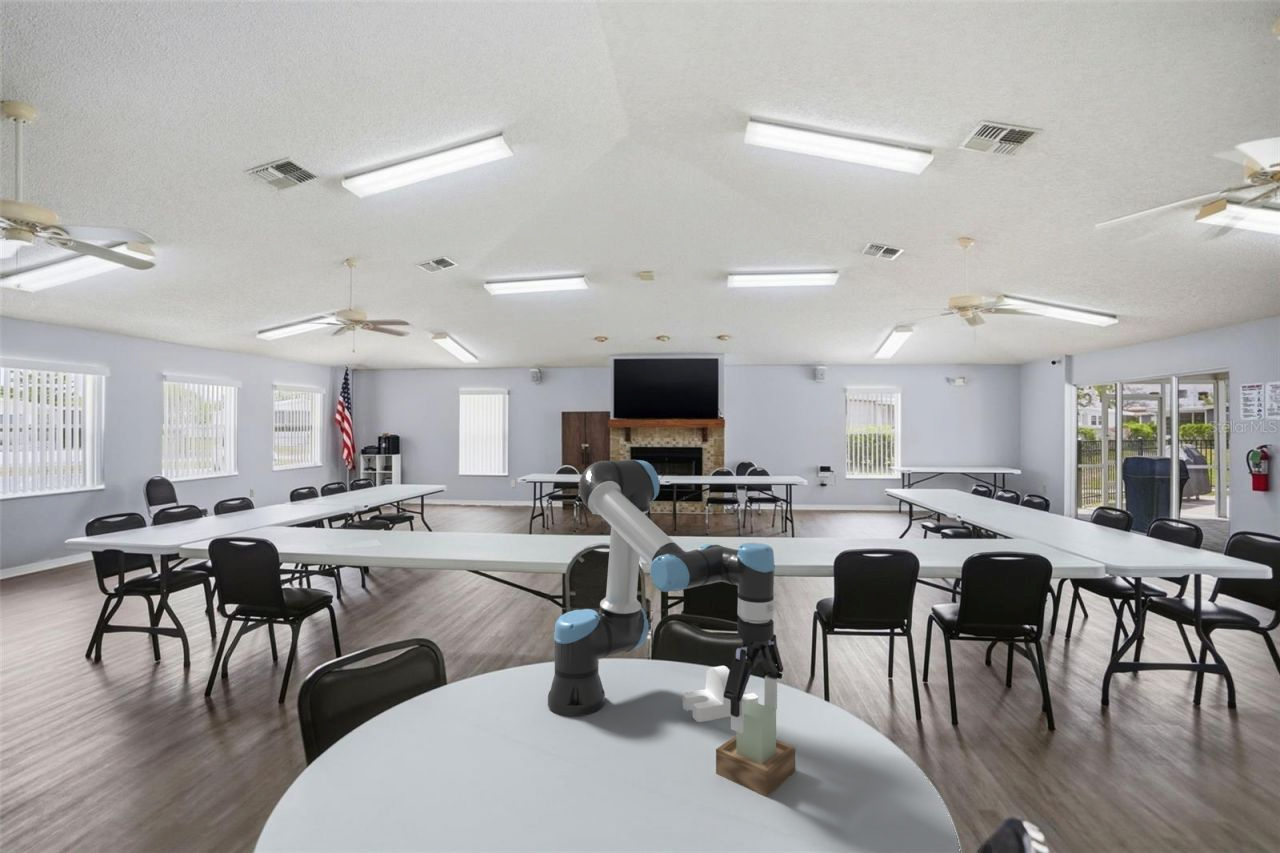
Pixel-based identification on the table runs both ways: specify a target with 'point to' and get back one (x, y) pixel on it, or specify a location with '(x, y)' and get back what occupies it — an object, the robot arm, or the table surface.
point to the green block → (757, 733)
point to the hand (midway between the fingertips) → (754, 718)
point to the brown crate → (756, 767)
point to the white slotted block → (713, 697)
